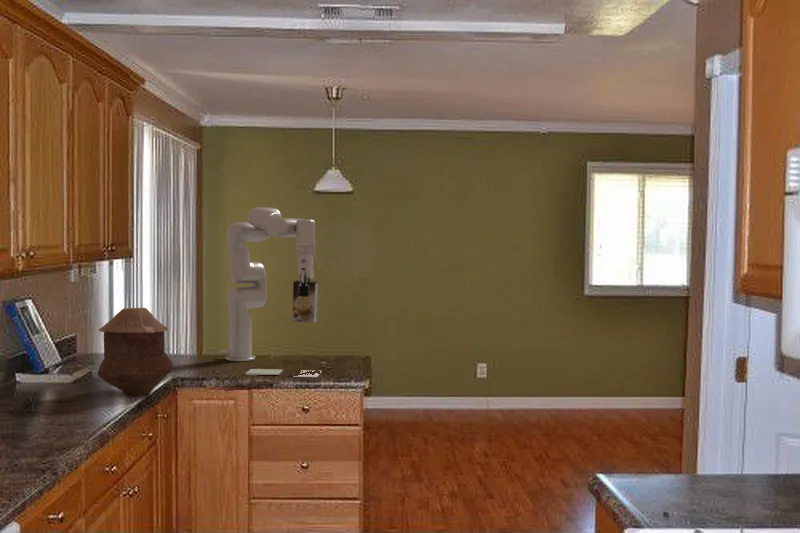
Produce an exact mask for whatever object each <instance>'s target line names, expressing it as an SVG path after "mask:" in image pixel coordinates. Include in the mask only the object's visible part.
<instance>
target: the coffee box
mask: <svg viewBox="0 0 800 533" xmlns="http://www.w3.org/2000/svg"><path fill="white" fill-rule="evenodd" d="M292 284H293V287H292V288H293V290H292V323H307V324H308V323H309V324H310V323H316V322H318V291H319V288H318V287H319V282H318V281H313V280H312V281H311V280H310V281H308V282H307V286H308V296H307V297H304V296H300V280H294V281H293V282H292Z"/></svg>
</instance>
